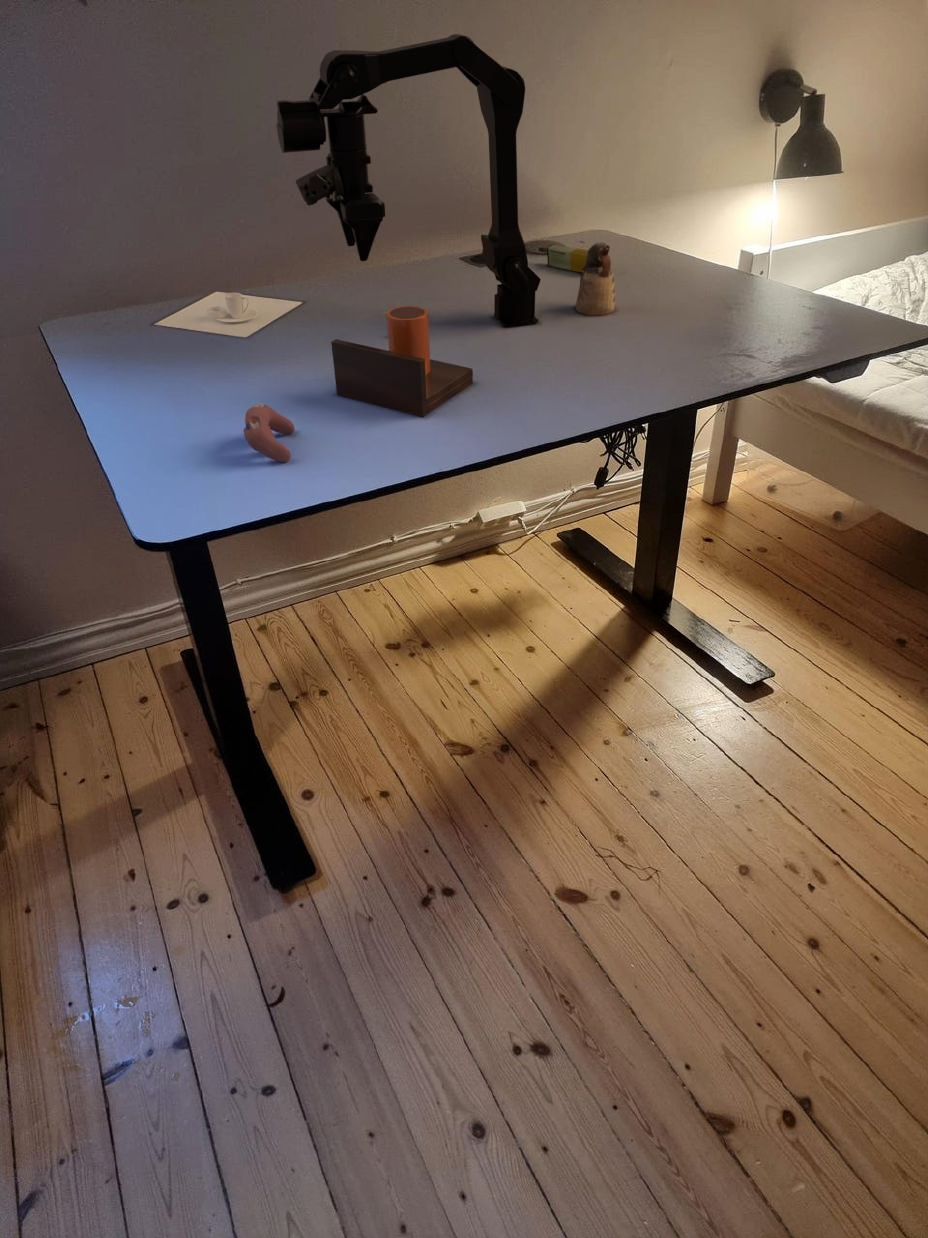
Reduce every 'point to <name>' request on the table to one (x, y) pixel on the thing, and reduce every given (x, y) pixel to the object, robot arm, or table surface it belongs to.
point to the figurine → (597, 283)
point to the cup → (409, 332)
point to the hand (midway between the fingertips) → (357, 253)
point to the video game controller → (267, 432)
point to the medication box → (566, 257)
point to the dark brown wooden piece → (395, 378)
